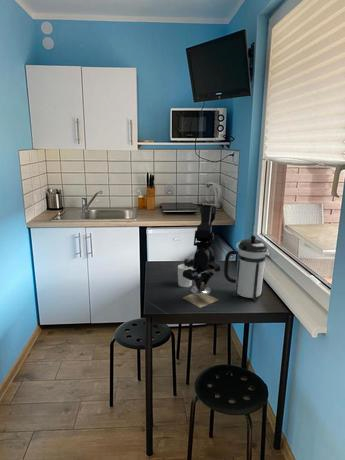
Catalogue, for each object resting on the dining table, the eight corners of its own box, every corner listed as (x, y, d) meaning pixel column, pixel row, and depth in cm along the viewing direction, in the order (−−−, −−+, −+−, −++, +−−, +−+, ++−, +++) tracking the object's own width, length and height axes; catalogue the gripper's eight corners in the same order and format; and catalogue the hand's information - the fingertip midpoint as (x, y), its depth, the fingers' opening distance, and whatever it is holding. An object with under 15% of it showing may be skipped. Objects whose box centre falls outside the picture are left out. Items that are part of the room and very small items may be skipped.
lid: (200, 284, 157) (201, 275, 156) (214, 291, 151) (215, 282, 149) (186, 289, 151) (187, 280, 150) (201, 297, 145) (201, 287, 144)
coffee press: (255, 287, 167) (260, 229, 159) (269, 302, 151) (276, 239, 143) (222, 289, 164) (226, 230, 156) (233, 304, 148) (238, 240, 140)
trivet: (200, 291, 160) (200, 290, 160) (218, 300, 152) (218, 299, 152) (182, 298, 153) (182, 297, 153) (200, 308, 144) (200, 307, 144)
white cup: (191, 289, 163) (192, 270, 160) (175, 287, 164) (176, 268, 161) (193, 282, 170) (194, 264, 167) (178, 281, 172) (179, 263, 169)
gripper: (204, 247, 158) (202, 277, 162) (174, 255, 146) (173, 287, 151) (221, 253, 150) (219, 285, 154) (192, 262, 138) (190, 296, 142)
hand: (200, 288), depth 151 cm, fingers closed on lid, 3 cm apart
